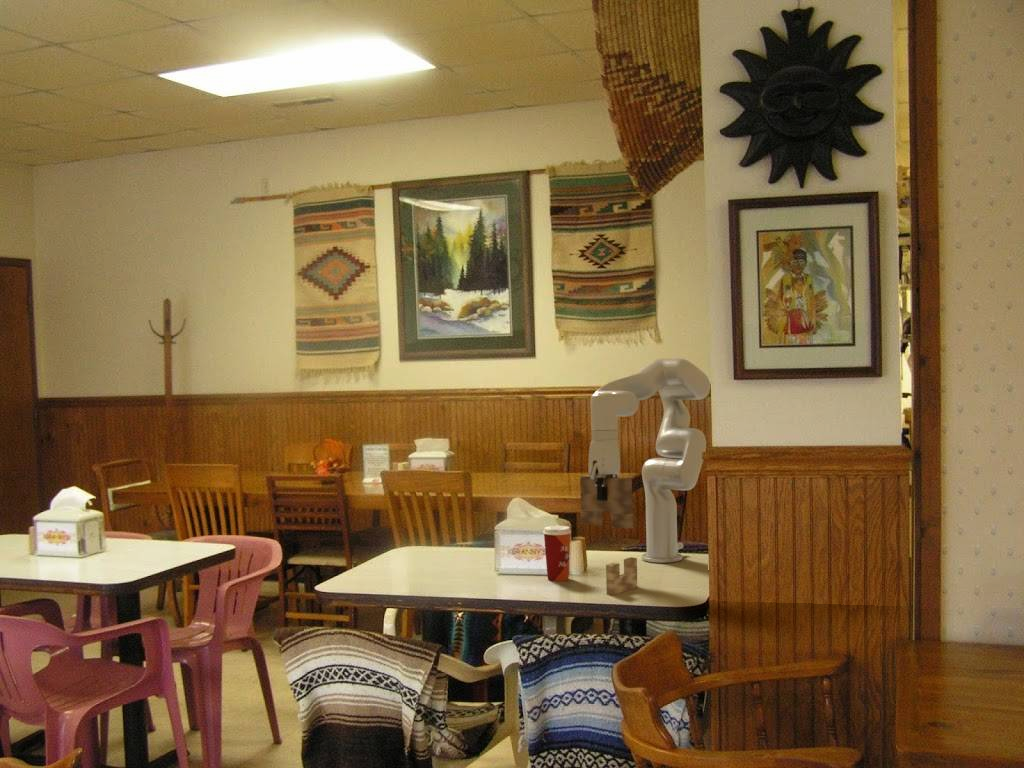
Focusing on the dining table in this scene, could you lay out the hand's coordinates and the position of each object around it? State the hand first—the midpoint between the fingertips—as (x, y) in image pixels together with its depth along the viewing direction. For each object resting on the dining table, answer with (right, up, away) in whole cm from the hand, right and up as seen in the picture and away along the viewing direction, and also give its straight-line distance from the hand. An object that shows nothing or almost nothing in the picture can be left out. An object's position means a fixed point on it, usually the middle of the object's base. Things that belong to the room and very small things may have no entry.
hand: (606, 498), depth 304 cm
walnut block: (0, -8, 0) cm, 8 cm away
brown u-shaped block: (+3, -24, -14) cm, 28 cm away
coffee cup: (-14, -24, +1) cm, 27 cm away
